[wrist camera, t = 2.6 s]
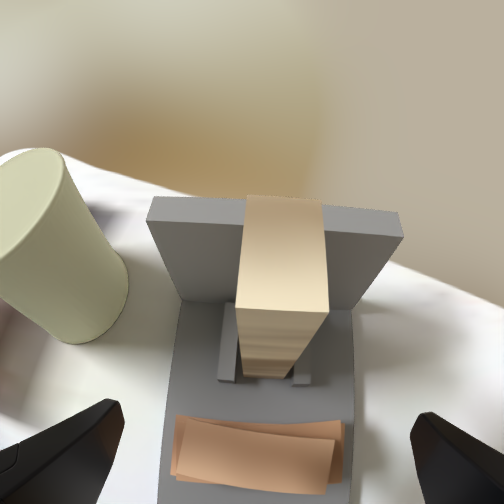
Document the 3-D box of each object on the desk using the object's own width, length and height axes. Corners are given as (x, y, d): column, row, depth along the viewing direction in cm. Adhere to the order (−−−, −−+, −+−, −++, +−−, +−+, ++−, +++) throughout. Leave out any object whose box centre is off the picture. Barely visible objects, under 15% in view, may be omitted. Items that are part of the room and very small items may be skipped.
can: (24, 311, 21) (-64, 234, 11) (77, 232, 25) (18, 135, 15) (91, 366, 19) (-21, 297, 9) (149, 268, 23) (93, 151, 13)
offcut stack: (336, 481, 14) (354, 491, 11) (174, 473, 14) (158, 482, 11) (339, 420, 16) (358, 418, 13) (180, 411, 17) (165, 408, 14)
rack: (342, 522, 13) (407, 576, 4) (160, 513, 13) (95, 564, 5) (345, 293, 22) (396, 208, 14) (188, 284, 23) (155, 192, 14)
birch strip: (283, 379, 18) (329, 312, 8) (243, 376, 18) (235, 307, 8) (285, 321, 20) (320, 199, 10) (248, 319, 20) (246, 194, 10)
